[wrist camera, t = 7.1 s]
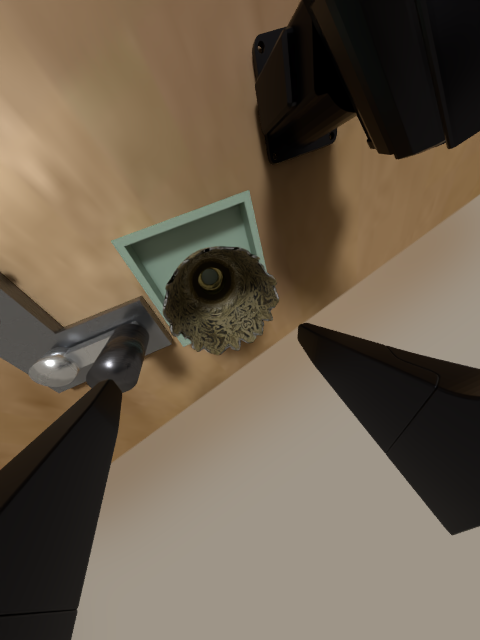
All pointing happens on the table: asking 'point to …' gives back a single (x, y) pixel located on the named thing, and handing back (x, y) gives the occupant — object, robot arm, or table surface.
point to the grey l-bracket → (64, 329)
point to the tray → (188, 243)
